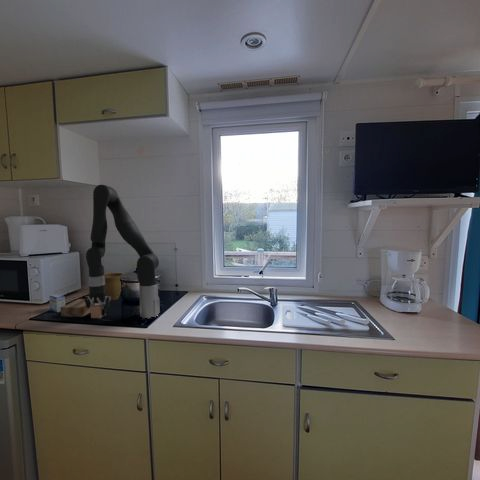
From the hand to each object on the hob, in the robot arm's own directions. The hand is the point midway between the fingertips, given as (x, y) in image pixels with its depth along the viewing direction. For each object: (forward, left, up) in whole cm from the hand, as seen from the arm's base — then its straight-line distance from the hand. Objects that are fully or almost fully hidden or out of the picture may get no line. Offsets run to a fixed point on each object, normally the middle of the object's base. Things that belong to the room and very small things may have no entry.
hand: (98, 315), depth 131 cm
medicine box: (+29, -8, -1) cm, 30 cm away
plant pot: (+9, -29, -1) cm, 30 cm away
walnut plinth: (+14, -6, -1) cm, 15 cm away
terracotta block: (0, 0, -1) cm, 1 cm away
